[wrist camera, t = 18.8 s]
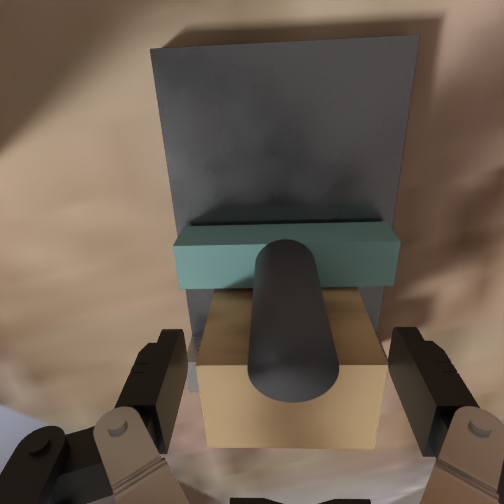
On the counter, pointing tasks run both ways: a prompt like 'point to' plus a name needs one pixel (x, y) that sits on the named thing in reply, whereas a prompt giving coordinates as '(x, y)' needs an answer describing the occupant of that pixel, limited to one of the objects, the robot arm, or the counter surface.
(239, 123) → the vise
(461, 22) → the counter surface
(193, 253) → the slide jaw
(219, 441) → the block
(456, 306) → the counter surface
